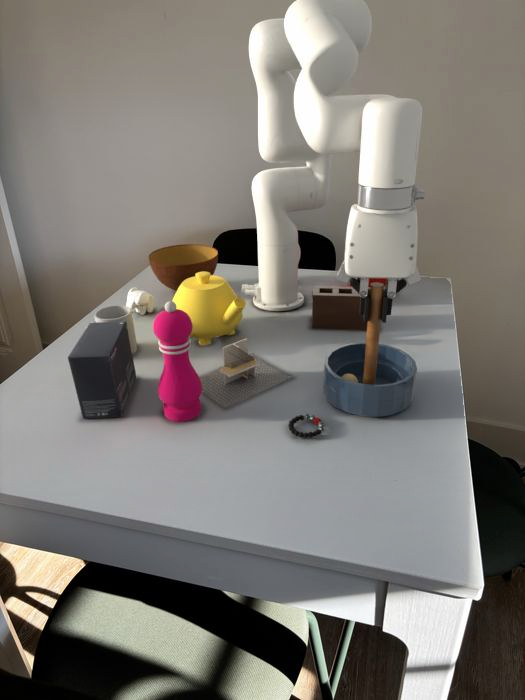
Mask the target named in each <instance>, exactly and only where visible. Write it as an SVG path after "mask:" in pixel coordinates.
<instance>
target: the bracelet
mask: <svg viewBox="0 0 525 700" xmlns="http://www.w3.org/2000/svg"><path fill="white" fill-rule="evenodd" d="M304 419H306V420H309V419H310V421H313V423H314V424H315V425H318V428H317V429H316V430H313V431H309V432H302V431H299V430H297V429H296V427H295V424H296V423H297V422H299V421H304ZM287 427H288V430H289V431H290V433H291V434H292V435H294V436H295V437H298V438H300V439H301V438H304V439H308V438H313V437H315V438H316V437H317V436H320V435H321V434H322V432H324V431H325V423H324V422H323V421H322V419H321V418H320V417H317V416H315V414H311V415H310V413H309V414H308V413H306V414H300V415H296V416H295V417H292V418H291V419H290V420H289V421H288V426H287Z"/></svg>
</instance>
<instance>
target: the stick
mask: <svg viewBox="0 0 525 700" xmlns="http://www.w3.org/2000/svg"><path fill="white" fill-rule="evenodd" d="M384 289H385V286H384V284H382V283H378V282H375V283H371V285H370V297H371V301H370V314H369V321H368V324H367V331H366V337H365V338H366V339H365V342H366V349H365V362H364V375H363V384H372V385H375V380H376V369H377V358H378V348H379V344H380V337H381V325H382V322H381V313H382V302H383V293H384Z"/></svg>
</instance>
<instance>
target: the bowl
mask: <svg viewBox="0 0 525 700" xmlns="http://www.w3.org/2000/svg"><path fill="white" fill-rule="evenodd" d="M148 262H149V265H150V269H151V271H152V272H153V274H154V276H155V277H156V278H157V279H158V281H159V283H161V284H162V285H163V286H165V287H166V288H168V289H170V290H173V291H174V292H175V293H176V292H177V290H178V288H179V286H180V285H181V283H182V282H183V281H184V280H186V279H188V278H190V277H194V276H196V275H195V274H196V273H198V272H203V271H205V272H209V273H211V274H210V275H214V274H215V272H216V269H217V266H218V262H219V252H218V250H217V249H216V248H215V247H213V246H209V245H206V244H198V243H197V244H195V243H187V244H176V245H169V246H164V247H161V248H158V249H155V250H153V251H152V252H151V253H150V254H148Z"/></svg>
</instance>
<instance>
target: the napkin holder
mask: <svg viewBox="0 0 525 700" xmlns="http://www.w3.org/2000/svg"><path fill="white" fill-rule="evenodd" d="M257 359H258V358H257V357H256V356H255V352H253V353H249V340H248V338H247V337H246V338H244V339H241V340H238V341H236V342H233V343H230V344H227V345H225V346H223V347H222V360H223V366H222V367H219V368H218V371H219V372H221V373H223V376H224V383H225V384H227V383H230V382H232V381H234V380H237V379H239V378H241V377H243V378H245V379H247V380H248V379H249V374H250V375H252V376H253V377H256V376H257V375H256V367H257V366H259V365H260V362H259V361H257Z"/></svg>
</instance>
